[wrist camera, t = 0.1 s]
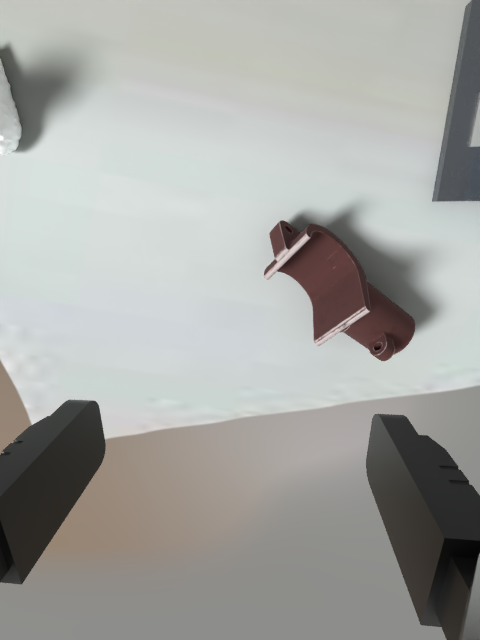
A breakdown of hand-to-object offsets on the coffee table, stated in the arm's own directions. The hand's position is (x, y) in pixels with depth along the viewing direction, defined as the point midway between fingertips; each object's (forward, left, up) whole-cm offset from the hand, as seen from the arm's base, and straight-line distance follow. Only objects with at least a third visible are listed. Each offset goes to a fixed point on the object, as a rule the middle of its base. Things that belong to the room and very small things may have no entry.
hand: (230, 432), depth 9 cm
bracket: (+2, +8, -30) cm, 31 cm away
